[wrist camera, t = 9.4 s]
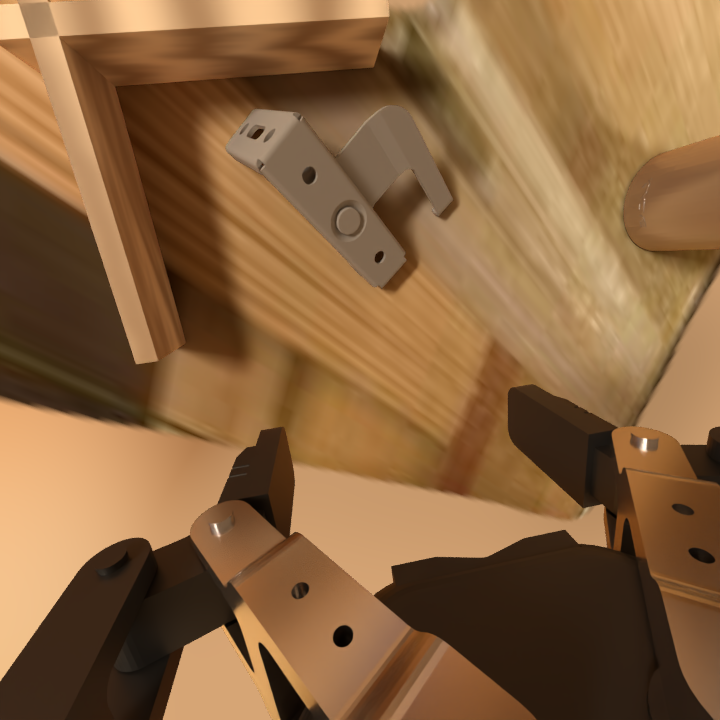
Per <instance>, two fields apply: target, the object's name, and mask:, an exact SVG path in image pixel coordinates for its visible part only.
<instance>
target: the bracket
mask: <svg viewBox="0 0 720 720" xmlns="http://www.w3.org/2000/svg"><path fill="white" fill-rule="evenodd" d="M258 129H264V132H263V133H262V134H261V135H260V137H258V138H257V139H252V138H251V137H252V135H253V134H254V133H255V132H256V131H257V130H258ZM226 151H227V152H228V153H229V154H230V155H231V156H232V157H233V158H234V159H235V160H237V161H239V162H241V163H242V164H244V165H246V166H248V167H249V168H251V169H253V170H255V171H256V172H258V173H260V174H262V175H264V176H265V177H266V179H267V180H268V181H269V182H270V183H271V184H272V185H273V186H274V187H275V188H276V189H277V190H278V191H279V192H280V193H281V194H282V195H283V196H284V197H285V198H286V199H287V200H288V201H289V202H290V203H291V204H292V205H293V206H294V207H295V208H296V209H297V210H298V211H299V212H300V213H301V214H302V215H303V216H304V217H305V218H306V219H307V220H308V221H309V222H310V223H311V224H312V225H313V227H314V228H315V229H316V230H317V231H318V232H319V233H320V234H321V235H322V236H323V237H324V238H325V239H326V240H327V241H328V242H329V243H330V244H331V245H332V246H333V247H334V248H335V249H336V250H337V251H338V252H339V253H340V254H341V255H342V256H343V257H344V258H345V259H346V260H347V261H348V262H349V263H350V265H351V266H352V267H353V268H354V270H355V271H356V272H357V273H358V274H359V275H361V276H362V277H363V278H364V279H365V280H366V281H367V282H368V283H369V284H370V285H372V286H373V287H377V286H379V287H381V288H383V287H384V286H385V285H386V284H387V283H388V281H389V280H390V279H391V278H392V277H393V276H394V275H395V274H396V272H397V271H398V270H399V269H400V268H401V267H402V266H403V264H404V263H405V262H406V261H407V260H406V258H405V257H404V255H405V253H406V252H405V251H404V249H403V248H402V247H401V245H400V244H399V243H398V241H397V240H396V239H395V237H394V236H393V235H392V233H391V232H390V231H389V229H388V228H387V227H386V225H385V224H384V223H383V222H382V220H381V219H380V218H379V216H378V215H377V214H376V212H375V211H374V210H373V207H374V205H375V203H376V202H377V201H378V200H379V198H380V197H381V196H382V195H383V194H384V193H385V191H386V190H387V189H388V188H389V187H390V186H391V184H392V183H393V182H394V181H395V180H396V179H397V177H398V176H399V175H400V174H402V173H403V172H404V171H406V170H408V169H411V170H412V171H413V172H414V174H415V176H416V178H417V179H418V181H419V183H420V185H421V186H422V188H423V190H424V192H425V194H426V195H427V197H428V199H429V201H430V202H431V204H432V206H433V209H432V211H433V213H434V214H435V215H437V216H440V214H441V213H442V212H443V211H444V210H445V209H446V208H447V206H448V205H449V204H450V203H451V202H452V201H453V198H452V196H451V194H450V192H449V190H448V188H447V186H446V184H445V182H444V180H443V178H442V176H441V174H440V172H439V170H438V168H437V166H436V164H435V162H434V160H433V158H432V156H431V154H430V152H429V150H428V148H427V146H426V144H425V142H424V140H423V138H422V136H421V134H420V132H419V130H418V128H417V126H416V124H415V122H414V120H413V118H412V116H411V115H410V113H409V112H408V111H407V110H406V109H404V108H403V107H401V106H397V105H389V106H385V107H382V108H381V109H379V110H378V111H377V112H375V113H374V114H373V115H372V116H370V117H369V118H368V119H367V120H366V121H365V122H364V123H363V125H362V126H361V127H360V128H359V129H358V131H357V132H356V133H355V134H354V135H353V137H352V138H351V139H350V140H349V141H348V143H347V144H346V145H345V146H344V148H343V149H342V150H341V151H340V152H339V154H338V155H337V156H336V157H335V158H334V157H333V155H332V154H331V153H330V152H329V150H328V149H327V148H326V146H325V145H324V144H323V142H322V141H321V140H320V138H319V137H318V136H317V134H316V133H315V132H314V130H313V129H312V128H311V126H310V125H309V124H308V122H307V121H306V120H305V118H304V117H303V116H301V114H300V113H297V112H286V111H275V110H264V109H253V110H252V112H251V113H250V114H249V116H248V117H247V118H246V120H245V121H244V122H243V123H242V125H241V126H240V127H239V129H238V130H237V131H236V133H235V134H234V135H233V136H232V138H231V139H230V140H229V142H228V143H227V144H226ZM262 163H263V164H264V166H262ZM379 251H382V252H383V259H382V260H381V261H380V262H375V259H374V258H375V255H376V253H378V252H379Z"/></svg>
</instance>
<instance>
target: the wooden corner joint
mask: <svg viewBox="0 0 720 720" xmlns="http://www.w3.org/2000/svg"><path fill="white" fill-rule="evenodd" d="M17 1H18V4H4V5H0V46H2V47H3V48H5V49H6V50H8V51H9V52H10V53H12V54H13V55H15V56H16V57H18V58H19V59H21V60H22V61H23V62H25V63H26V64H28V65H29V66H31V67H32V68H34V69H35V70H36V71H38V72H39V73H41V74H42V77H43V80H44V83H45V86H46V89H47V92H48V96H49V99H50V102H51V105H52V108H53V111H54V114H55V117H56V120H57V123H58V126H59V129H60V132H61V135H62V138H63V141H64V145H65V148H66V151H67V154H68V157H69V160H70V163H71V166H72V169H73V172H74V175H75V178H76V181H77V184H78V187H79V190H80V194H81V197H82V200H83V203H84V206H85V209H86V212H87V215H88V218H89V221H90V224H91V227H92V230H93V233H94V236H95V239H96V242H97V246H98V249H99V252H100V255H101V258H102V261H103V264H104V267H105V270H106V273H107V276H108V279H109V282H110V285H111V288H112V291H113V295H114V298H115V301H116V304H117V307H118V310H119V313H120V316H121V319H122V322H123V325H124V328H125V331H126V334H127V337H128V340H129V344H130V347H131V350H132V353H133V356H134V359H135V362H136V364H141V363H147V362H154V361H159V360H160V359H162V358H164V357H165V356H167V355H168V354H170V353H171V352H173V351H175V350H176V349H178V348H179V347H181V346H182V345H184V344H186V341H185V337H184V333H183V330H182V326H181V323H180V319H179V315H178V312H177V308H176V305H175V301H174V297H173V294H172V290H171V286H170V283H169V279H168V276H167V272H166V268H165V265H164V261H163V258H162V254H161V250H160V247H159V243H158V240H157V236H156V232H155V229H154V225H153V221H152V218H151V214H150V211H149V207H148V203H147V200H146V196H145V193H144V189H143V185H142V182H141V178H140V174H139V171H138V167H137V164H136V160H135V156H134V153H133V149H132V146H131V142H130V138H129V135H128V131H127V127H126V124H125V120H124V117H123V113H122V109H121V106H120V102H119V99H118V95H117V91H116V88H115V86H128V85H141V84H155V83H169V82H182V81H196V80H209V79H223V78H237V77H250V76H264V75H278V74H291V73H305V72H319V71H332V70H346V69H360V68H373V67H374V65H375V61H376V58H377V55H378V52H379V48H380V45H381V42H382V39H383V36H384V32H385V29H386V26H387V23H388V19H389V5H388V0H83V1H63V2H51V1H50V0H17Z"/></svg>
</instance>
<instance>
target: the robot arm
mask: <svg viewBox="0 0 720 720" xmlns="http://www.w3.org/2000/svg"><path fill="white" fill-rule="evenodd" d="M624 223H625V228H626V230H627V233H628V235H629V237H630V238H631V239H632V241H633V242H634V243H635V244H637V245H638V246H639V247H641V248H643V249H646V250H650V251H675V250H710V249H720V135H719V136H715V137H712V138H708V139H705V140H702V141H699V142H696V143H693V144H689V145H686V146H683V147H680V148H677V149H674V150H671V151H668V152H665V153H662V154H659V155H657V156H656V157H654V158H652V159H651V160H650V161H648V162H647V163H646V164H645V165H644V166H643V167H642V168H641V169H640V171H639V172H638V173H637V174H636V176H635V177H634V179H633V181H632V183H631V185H630V186H629V189H628V192H627V195H626V198H625V203H624ZM508 431H509V435H510V438H511V440H512V442H513V443H514V445H515V446H516V447H517V448H518V449H520V450H521V451H522V452H523V453H524V454H525V455H526V456H527V457H528V458H529V459H530V460H532V461H533V462H534V463H535V464H536V465H537V466H538V467H539V468H540V469H541V470H542V471H543V472H545V473H546V474H547V475H548V476H549V477H550V478H551V479H552V480H553V481H554V482H555V483H556V484H558V485H559V486H560V487H561V488H562V489H563V490H564V491H565V492H566V493H567V494H568V495H570V496H571V497H572V498H573V499H574V500H575V501H576V502H577V503H578V504H579V505H580V506H581V507H583V508H586V507H590V506H595V505H600V504H603V505H604V506H605V508H604V525H605V534H606V542H607V548H605V547H600V546H595V545H586V544H578V543H577V542H576V541H575V540H574V539H573V538H572V537H571V536H570V535H569V533H567V532H566V530H562V531H557V532H552V533H547V534H543V535H538V536H533V537H528V538H524V539H522V540H520V541H518V542H516V543H514V544H512V545H510V546H508V547H506V548H504V549H502V550H500V551H498V552H496V553H494V554H493V555H491V556H488V557H485V558H460V557H455V558H454V557H434V558H429V559H424V560H419V561H415V562H410V563H405V564H400V565H395V566H392V567H391V568H392V576H393V583H392V584H390V585H388V586H386V587H385V588H383V589H382V590H380V591H379V592H377V593H376V594H375V595H374V596H373V595H372V594H371V593H370V592H369V591H367V590H366V589H365V588H364V587H363V586H362V585H360V584H359V583H358V582H357V581H356V580H354V579H353V578H352V577H351V576H350V575H349V574H348V573H346V572H345V571H344V570H343V569H342V568H341V567H339V566H338V565H337V564H336V563H335V562H334V561H332V560H331V559H330V558H329V557H328V556H327V555H325V554H324V553H323V552H322V551H321V550H319V549H318V548H317V547H316V546H315V545H314V544H312V543H311V542H310V541H309V540H308V539H307V538H305V537H304V536H303V535H302V534H300V533H298V532H294V533H293V534H292V535H290V527H291V516H292V506H293V496H294V486H295V480H294V470H293V464H292V460H291V455H290V450H289V446H288V441H287V436H286V432H285V429H284V427H278V428H273V429H267V430H261V432H260V435H259V438H258V441H257V444H256V446H253V447H247V448H246V449H245V450H244V451H243V452H242V453H241V454H240V455H239V456H238V457H237V458H236V460H235V462H234V465H233V467H232V468H233V469H232V470H231V472H230V475H229V478H228V480H227V482H226V484H225V487H224V489H223V492H222V494H221V497H220V499H219V501H218V504H217V505H215V506H213V507H211V508H209V509H208V510H207V511H205V512H204V513H202V514H201V515H200V516H199V517H198V518H197V519H196V520H195V522H194V523H193V525H192V527H191V530H190V535H189V536H187V537H185V538H183V539H181V540H179V541H176V542H174V543H172V544H169V545H167V546H164V547H162V548H160V549H157V550H155V551H152V548H151V545H150V543H149V541H147V540H146V539H143V538H131V539H126V540H123V541H120V542H117V543H115V544H113V545H111V546H109V547H107V548H105V549H104V550H102V551H101V552H99V553H98V554H96V555H95V556H93V557H92V558H91V559H90V560H89V561H88V562H86V563H85V565H84V566H83V567H82V568H81V569H80V570H79V571H78V573H77V574H76V576H75V577H74V579H73V580H72V581H71V582H70V584H69V585H68V587H67V588H66V590H65V591H64V592H63V594H62V595H61V597H60V598H59V599H58V601H57V602H56V604H55V605H54V606H53V608H52V609H51V611H50V612H49V614H48V615H47V616H46V618H45V619H44V621H43V622H42V623H41V625H40V626H39V628H38V629H37V631H36V632H35V633H34V635H33V636H32V638H31V639H30V641H29V642H28V643H27V645H26V646H25V648H24V649H23V650H22V652H21V653H20V654H19V656H18V657H17V659H16V660H15V662H14V663H13V664H12V666H11V667H10V669H9V670H8V671H7V673H6V674H5V676H4V677H3V678H2V680H1V681H0V720H163V716H164V713H165V709H166V706H167V702H168V699H169V695H170V692H171V689H172V685H173V682H174V678H175V675H176V672H177V668H178V665H179V661H180V658H181V654H182V651H183V648H184V646H185V645H186V644H189V643H190V642H192V641H194V640H196V639H198V638H200V637H202V636H204V635H205V634H207V633H209V632H211V631H213V630H215V629H217V628H219V627H222V629H223V631H224V633H225V634H226V636H227V638H228V639H229V641H230V643H231V644H232V646H233V648H234V649H235V651H236V652H237V654H238V656H239V658H240V660H241V661H242V663H243V665H244V666H245V668H246V670H247V671H248V673H249V675H250V677H251V678H252V680H253V682H254V683H255V685H256V687H257V689H258V691H259V693H260V694H261V697H262V699H263V701H264V703H265V706H266V708H267V710H268V712H269V715H270V717H271V718H272V720H720V427H715V428H713V429H711V430H710V431H709V436H708V441H707V445H680V444H679V442H678V441H677V440H676V439H674V438H673V437H671V436H669V435H668V434H665V433H663V432H660V431H657V430H653V429H649V428H643V427H632V426H629V427H620V428H617V427H616V426H614V425H612V424H610V423H608V422H607V421H605V420H603V419H601V418H599V417H597V416H596V415H594V414H592V413H588V411H586V410H585V409H583V408H581V407H580V408H579V407H578V406H577V405H575V404H574V403H572V402H570V401H568V400H566V399H563V398H560V397H556V396H553V395H552V394H550V393H548V392H546V391H544V390H543V389H541V388H539V387H537V386H535V385H533V384H531V385H525V386H519V387H513V388H511V389H510V390H509V392H508Z"/></svg>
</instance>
